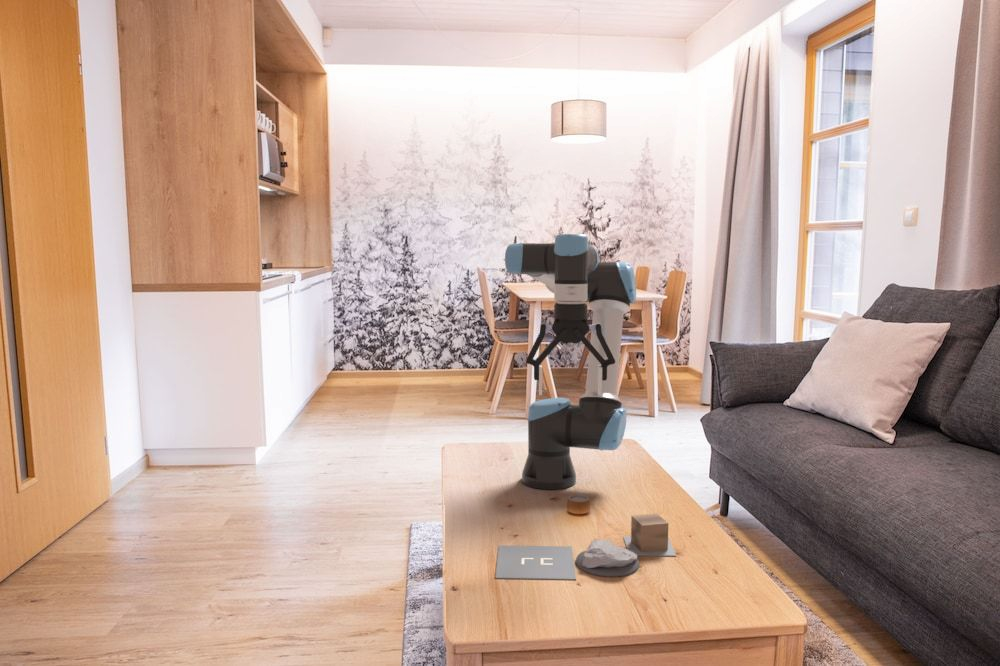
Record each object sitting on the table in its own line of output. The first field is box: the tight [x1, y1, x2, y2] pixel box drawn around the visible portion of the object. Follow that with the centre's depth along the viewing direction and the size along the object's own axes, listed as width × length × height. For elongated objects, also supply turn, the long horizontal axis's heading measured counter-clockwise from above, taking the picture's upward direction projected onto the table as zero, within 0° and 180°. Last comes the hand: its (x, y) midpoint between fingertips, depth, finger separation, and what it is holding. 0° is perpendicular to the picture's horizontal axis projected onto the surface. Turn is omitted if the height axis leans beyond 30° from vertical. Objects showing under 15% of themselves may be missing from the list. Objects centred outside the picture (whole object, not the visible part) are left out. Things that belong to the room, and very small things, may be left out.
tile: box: [623, 536, 677, 557], centre depth 162 cm, size 10×10×1 cm
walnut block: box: [630, 513, 669, 552], centre depth 162 cm, size 6×6×6 cm
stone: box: [582, 537, 638, 568], centre depth 153 cm, size 10×12×4 cm
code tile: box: [494, 544, 577, 581], centre depth 154 cm, size 16×16×1 cm
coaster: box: [575, 550, 640, 578], centre depth 154 cm, size 13×13×1 cm
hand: (570, 394), depth 170 cm, fingers open, 13 cm apart
